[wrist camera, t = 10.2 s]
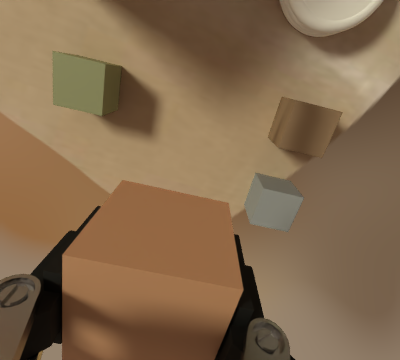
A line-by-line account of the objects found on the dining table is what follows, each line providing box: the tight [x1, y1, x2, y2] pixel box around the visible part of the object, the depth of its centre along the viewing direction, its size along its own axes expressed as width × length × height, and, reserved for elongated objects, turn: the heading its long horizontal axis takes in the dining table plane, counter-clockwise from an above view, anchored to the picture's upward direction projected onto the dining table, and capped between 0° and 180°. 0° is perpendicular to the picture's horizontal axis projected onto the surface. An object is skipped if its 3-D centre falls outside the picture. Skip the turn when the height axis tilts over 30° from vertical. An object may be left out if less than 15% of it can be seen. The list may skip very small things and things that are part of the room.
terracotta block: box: [62, 180, 243, 360], centre depth 10 cm, size 5×5×5 cm
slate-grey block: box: [244, 173, 304, 232], centre depth 31 cm, size 5×5×5 cm
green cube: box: [53, 51, 122, 116], centre depth 26 cm, size 5×5×5 cm
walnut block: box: [268, 97, 343, 158], centre depth 27 cm, size 5×5×5 cm
